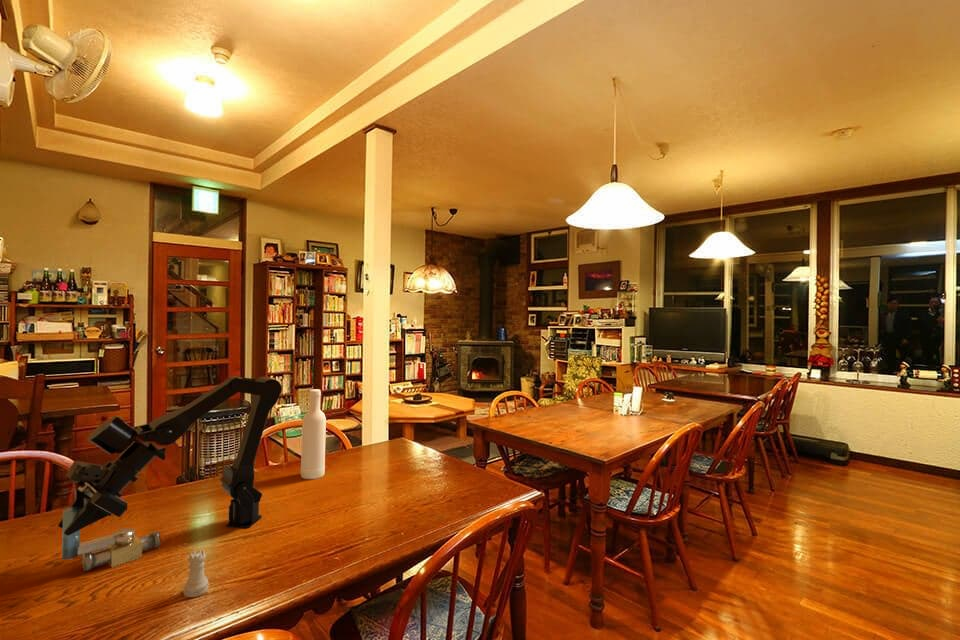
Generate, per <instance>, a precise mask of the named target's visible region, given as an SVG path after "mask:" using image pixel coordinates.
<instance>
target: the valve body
mask: <svg viewBox="0 0 960 640" xmlns="http://www.w3.org/2000/svg"><path fill="white" fill-rule="evenodd" d="M161 539H162V538H161V534H160V531H158V530H155V531H152V532H151V531H150V534H147V535H144V536H141V537H137V536H136V534H134V540H133V541H131V542H129V543H127V544H123V545H110V546H107V547H103V548H101V549H98V550H96V551H95V550H94V551H93V552H92V551H89V552H86V553H83V554H82V556H81V557H82V560H81V561H82V568H83V571H84V572H89V571H91V570H93V569H95V568H97V567H100V566H103V565H106V564H108V566H109V567H110V566H111V567H112V568H114V566H115V567H117V565H118V566H121V565H123V563H124V564H126V562H127V563H130V562H132V560H133V561H135V559H136V560H138V558H139V559H141V558H143V552H145V551H148V550H151V549H153V548H154V549H156V548H159V547H160V546H161V543H162V541H161ZM129 561H130V562H129ZM120 564H121V565H120ZM111 567H110V568H111Z"/></svg>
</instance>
